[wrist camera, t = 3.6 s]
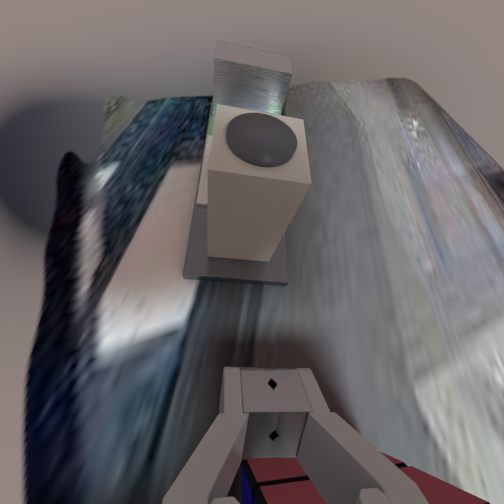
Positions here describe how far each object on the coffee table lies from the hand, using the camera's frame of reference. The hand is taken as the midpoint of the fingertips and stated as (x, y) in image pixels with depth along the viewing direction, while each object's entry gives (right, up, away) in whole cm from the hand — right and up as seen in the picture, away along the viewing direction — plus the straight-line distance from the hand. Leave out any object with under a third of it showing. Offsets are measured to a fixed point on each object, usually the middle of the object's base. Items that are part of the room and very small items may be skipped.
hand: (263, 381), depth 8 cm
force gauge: (-2, +8, +17) cm, 19 cm away
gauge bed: (-2, +13, +21) cm, 25 cm away
